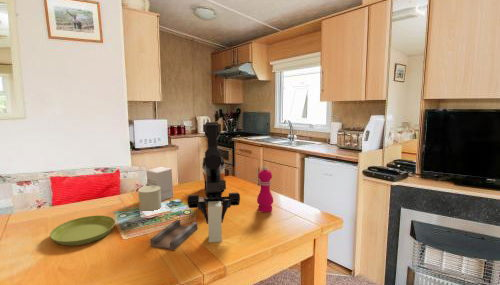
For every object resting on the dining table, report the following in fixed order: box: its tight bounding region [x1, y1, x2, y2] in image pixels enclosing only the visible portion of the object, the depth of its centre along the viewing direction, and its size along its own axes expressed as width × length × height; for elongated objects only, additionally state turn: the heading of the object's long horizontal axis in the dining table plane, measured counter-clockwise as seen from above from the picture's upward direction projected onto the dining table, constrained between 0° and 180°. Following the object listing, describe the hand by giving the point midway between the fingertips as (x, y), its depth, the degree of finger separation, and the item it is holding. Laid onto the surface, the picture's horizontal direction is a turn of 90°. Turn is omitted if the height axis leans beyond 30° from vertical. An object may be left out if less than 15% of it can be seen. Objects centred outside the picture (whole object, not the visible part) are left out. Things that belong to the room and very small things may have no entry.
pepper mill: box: [256, 166, 274, 213], centre depth 121 cm, size 7×7×20 cm
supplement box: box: [145, 166, 174, 202], centre depth 138 cm, size 9×9×15 cm
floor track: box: [149, 219, 199, 251], centre depth 99 cm, size 16×9×3 cm, turn 162°
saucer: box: [49, 215, 116, 247], centre depth 102 cm, size 21×21×3 cm
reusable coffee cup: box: [202, 161, 226, 182], centre depth 152 cm, size 13×13×15 cm
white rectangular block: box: [207, 201, 223, 243], centre depth 97 cm, size 5×4×13 cm
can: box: [137, 185, 162, 212], centre depth 118 cm, size 9×9×12 cm
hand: (214, 222), depth 95 cm, fingers closed on white rectangular block, 5 cm apart
